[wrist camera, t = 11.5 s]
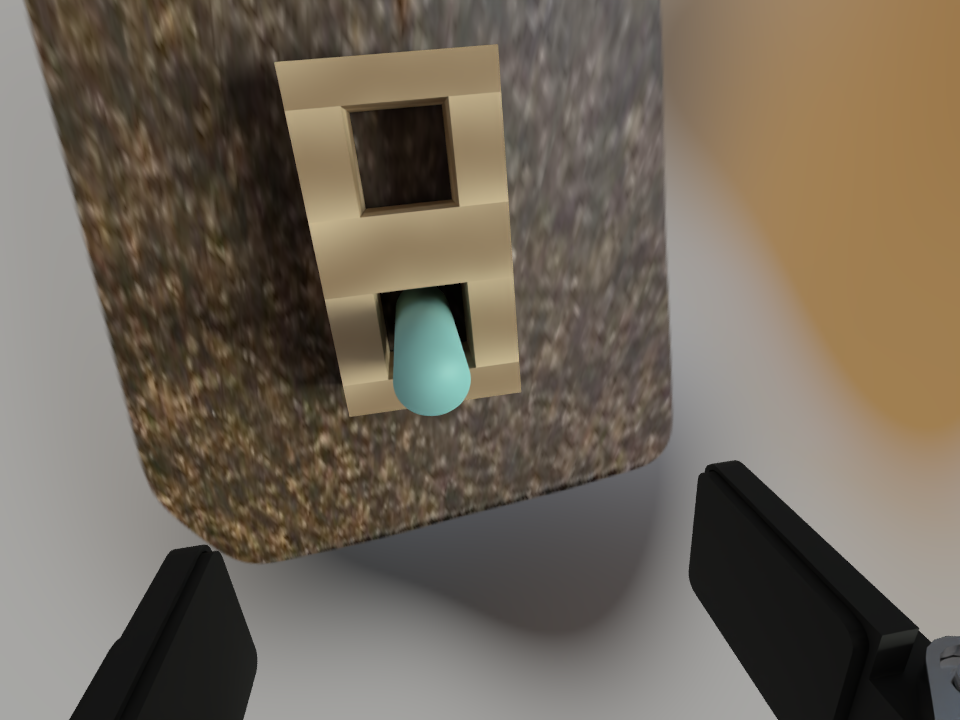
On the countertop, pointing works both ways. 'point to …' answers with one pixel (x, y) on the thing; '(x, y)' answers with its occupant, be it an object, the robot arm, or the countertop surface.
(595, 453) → the countertop surface
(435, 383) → the peg
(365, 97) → the hole block
